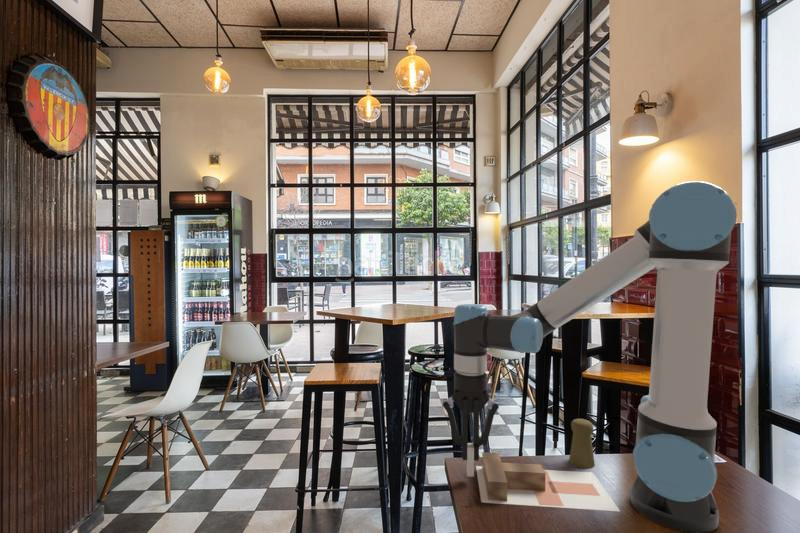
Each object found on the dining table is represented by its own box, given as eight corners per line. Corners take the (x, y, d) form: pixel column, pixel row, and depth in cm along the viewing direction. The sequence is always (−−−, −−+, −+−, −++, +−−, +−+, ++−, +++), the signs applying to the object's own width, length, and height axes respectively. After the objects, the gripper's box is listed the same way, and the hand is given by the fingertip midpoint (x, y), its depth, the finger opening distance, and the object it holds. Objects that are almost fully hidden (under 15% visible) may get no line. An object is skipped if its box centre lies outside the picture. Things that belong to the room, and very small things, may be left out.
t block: (536, 471, 101) (536, 454, 101) (550, 504, 87) (551, 485, 87) (482, 468, 103) (482, 452, 103) (488, 500, 89) (488, 481, 89)
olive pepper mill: (597, 470, 102) (598, 425, 102) (571, 467, 103) (571, 423, 103) (591, 459, 108) (591, 417, 108) (567, 456, 109) (567, 415, 109)
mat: (592, 473, 101) (592, 472, 101) (620, 512, 85) (620, 511, 85) (475, 466, 104) (475, 465, 104) (481, 503, 88) (481, 502, 88)
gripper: (497, 368, 99) (496, 467, 99) (442, 366, 100) (442, 464, 100) (501, 376, 91) (501, 483, 92) (441, 375, 93) (441, 480, 93)
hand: (470, 473), depth 96 cm, fingers closed
